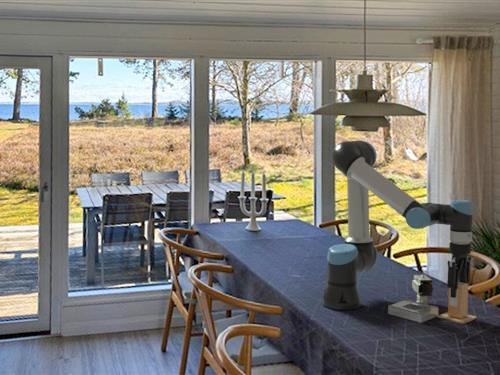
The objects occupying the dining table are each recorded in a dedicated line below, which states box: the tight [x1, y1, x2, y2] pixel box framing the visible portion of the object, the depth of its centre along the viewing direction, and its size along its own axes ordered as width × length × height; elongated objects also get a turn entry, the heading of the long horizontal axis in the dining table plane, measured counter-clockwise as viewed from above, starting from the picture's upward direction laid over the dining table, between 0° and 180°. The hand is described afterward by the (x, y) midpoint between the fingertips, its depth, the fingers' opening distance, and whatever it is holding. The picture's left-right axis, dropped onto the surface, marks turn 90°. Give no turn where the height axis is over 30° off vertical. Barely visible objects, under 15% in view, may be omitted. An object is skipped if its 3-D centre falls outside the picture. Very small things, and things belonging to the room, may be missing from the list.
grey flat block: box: [387, 298, 440, 324], centre depth 217 cm, size 14×12×3 cm
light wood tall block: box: [447, 281, 469, 318], centre depth 213 cm, size 5×5×12 cm
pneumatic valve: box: [411, 274, 434, 304], centre depth 229 cm, size 6×12×12 cm, turn 2°
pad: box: [437, 311, 478, 325], centre depth 213 cm, size 10×10×1 cm
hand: (457, 304), depth 213 cm, fingers closed on light wood tall block, 5 cm apart
